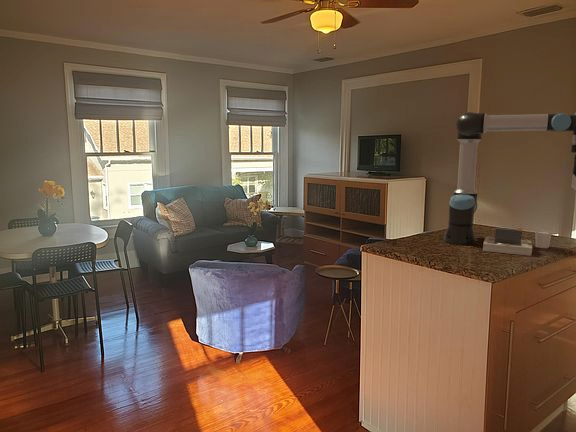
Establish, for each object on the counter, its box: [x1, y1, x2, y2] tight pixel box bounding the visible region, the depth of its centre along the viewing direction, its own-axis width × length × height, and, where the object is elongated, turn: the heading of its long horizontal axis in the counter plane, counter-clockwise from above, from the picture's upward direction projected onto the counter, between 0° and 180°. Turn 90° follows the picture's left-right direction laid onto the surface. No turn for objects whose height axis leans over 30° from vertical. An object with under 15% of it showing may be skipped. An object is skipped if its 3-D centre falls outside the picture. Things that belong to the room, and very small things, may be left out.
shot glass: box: [534, 231, 552, 249], centre depth 217 cm, size 7×7×7 cm
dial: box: [494, 227, 523, 246], centre depth 211 cm, size 12×12×8 cm
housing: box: [482, 236, 533, 257], centre depth 212 cm, size 20×18×4 cm
